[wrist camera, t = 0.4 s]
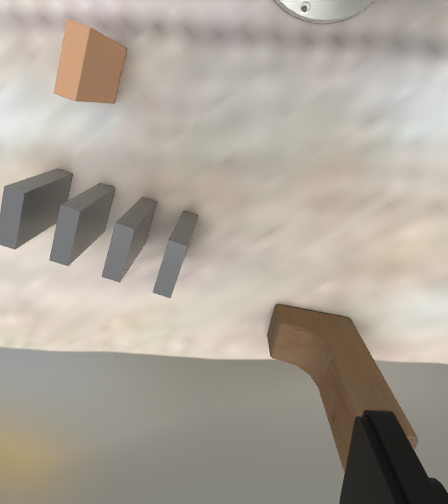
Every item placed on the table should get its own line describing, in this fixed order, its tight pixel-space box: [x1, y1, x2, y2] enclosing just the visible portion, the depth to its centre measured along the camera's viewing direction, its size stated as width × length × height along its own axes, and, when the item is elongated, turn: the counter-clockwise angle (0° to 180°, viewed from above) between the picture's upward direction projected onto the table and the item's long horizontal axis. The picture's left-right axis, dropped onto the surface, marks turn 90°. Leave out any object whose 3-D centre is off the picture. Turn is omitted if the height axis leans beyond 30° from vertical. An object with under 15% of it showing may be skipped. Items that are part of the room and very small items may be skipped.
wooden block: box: [267, 305, 418, 471], centre depth 37 cm, size 9×4×18 cm, turn 79°
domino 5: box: [153, 211, 198, 298], centre depth 38 cm, size 5×2×10 cm, turn 161°
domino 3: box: [50, 183, 115, 266], centre depth 37 cm, size 5×2×10 cm, turn 161°
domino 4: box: [102, 197, 157, 282], centre depth 37 cm, size 5×2×10 cm, turn 161°
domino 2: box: [54, 19, 127, 103], centre depth 32 cm, size 5×2×10 cm, turn 161°
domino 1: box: [0, 169, 73, 249], centre depth 36 cm, size 5×2×10 cm, turn 161°
